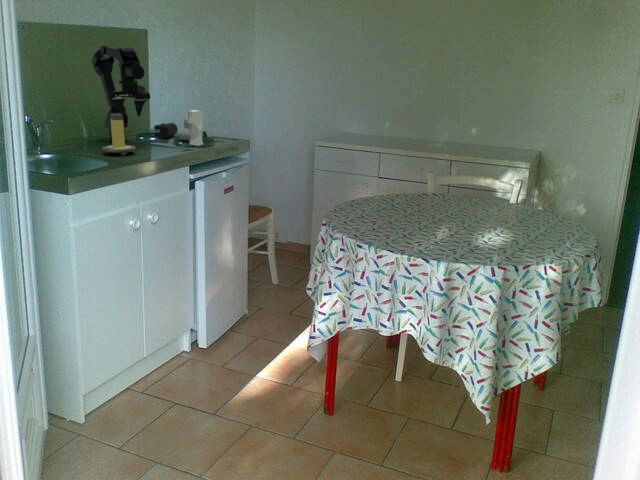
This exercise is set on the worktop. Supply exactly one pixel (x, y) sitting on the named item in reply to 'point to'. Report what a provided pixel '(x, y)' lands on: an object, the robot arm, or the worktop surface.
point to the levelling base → (118, 149)
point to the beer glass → (195, 126)
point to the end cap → (165, 130)
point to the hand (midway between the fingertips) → (130, 115)
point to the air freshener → (185, 131)
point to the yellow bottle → (117, 130)
